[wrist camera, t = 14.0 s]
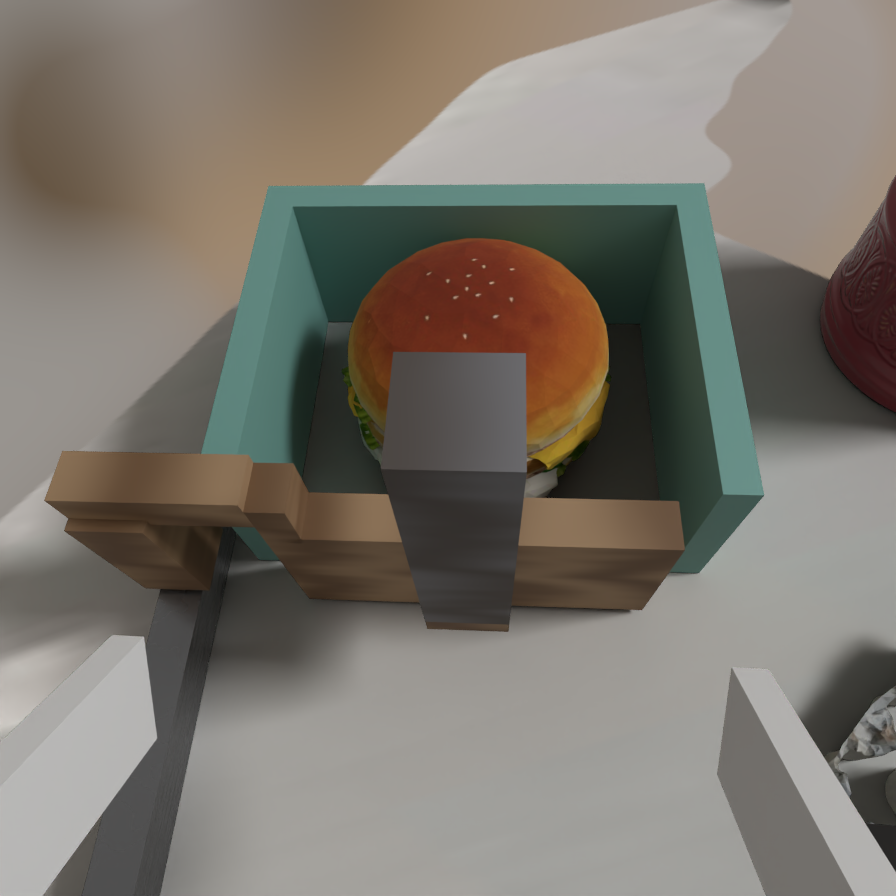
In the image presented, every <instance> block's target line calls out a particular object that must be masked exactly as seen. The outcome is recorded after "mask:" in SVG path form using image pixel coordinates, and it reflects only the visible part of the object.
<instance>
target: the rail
mask: <svg viewBox="0 0 896 896" xmlns="http://www.w3.org/2000/svg"><path fill="white" fill-rule="evenodd" d="M221 528H222V529H223V532H222V536H221V541H220V545H219V550H218V554H217V559H216V563H215V568H214V572H213V577H212V581H211V586H210V591H208V590H179V589H161V590H160V594H159V598H158V601H157V605H156V609H155V613H154V617H153V621H152V625H151V629H150V633H149V636H148V640H147V644H146V648H145V649H146V656H147V664H148V672H149V679H150V687H151V694H152V702H153V710H154V717H155V725H156V733H157V739H156V741H155V742H154V743H153V745H152V746H151V747H150V749H149V750H148V752H147V753H146V754H145V756H144V757H143V758H142V760H141V761H140V762H139V764H138V765H137V767H136V768H135V769H134V771H133V772H132V773H131V775H130V776H129V778H128V779H127V780H126V782H125V783H124V784H123V786H122V787H121V789H120V790H119V791H118V793H117V794H116V795H115V797H114V798H113V800H112V801H111V802H110V804H109V805H108V806H107V808H106V809H105V811H104V812H103V815H102V819H101V823H100V827H99V831H98V835H97V839H96V843H95V847H94V850H93V854H92V858H91V862H90V866H89V870H88V874H87V878H86V882H85V885H84V889H83V893H82V896H160V891H161V886H162V882H163V877H164V872H165V867H166V863H167V858H168V853H169V849H170V844H171V839H172V834H173V830H174V825H175V820H176V815H177V811H178V806H179V801H180V796H181V792H182V787H183V782H184V777H185V773H186V768H187V763H188V759H189V754H190V749H191V744H192V740H193V735H194V730H195V725H196V721H197V716H198V711H199V706H200V702H201V697H202V692H203V687H204V683H205V678H206V673H207V668H208V664H209V659H210V654H211V650H212V645H213V640H214V635H215V631H216V626H217V621H218V616H219V612H220V607H221V602H222V597H223V593H224V588H225V583H226V578H227V574H228V569H229V564H230V560H231V555H232V550H233V545H234V541H235V536H236V532H235V530H234V529H233V528H232V527H221Z"/></svg>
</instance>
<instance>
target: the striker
mask: <svg viewBox="0 0 896 896" xmlns="http://www.w3.org/2000/svg"><path fill="white" fill-rule="evenodd" d="M381 472H382V475H383V479H384V482H385V486H386V489H387V492H388V494H355V493H312V492H308V490H307V488H306V486H305V484H304V482H303V481H302V479H301V477H300V475H299V473H298V471H297V469H296V467H295V465H294V464H293V463H253V461H252V459H251V458H250V456H249V455H234V454H184V453H134V452H85V451H62V454H61V456H60V459H59V462H58V465H57V467H56V470H55V473H54V475H53V478H52V481H51V484H50V486H49V489H48V492H47V495H46V497H45V500H44V501H45V502H47V503H48V504H50V505H51V506H52V507H54V508H55V509H56V510H58V511H59V512H60V513H62V514H63V515H64V516H66V517H67V518H68V521H67V524H66V527H65V530H64V531H65V532H66V533H68V534H69V535H71V536H72V537H74V538H75V539H76V540H78V541H79V542H81V543H82V544H83V545H85V546H86V547H88V548H89V549H91V550H92V551H93V552H95V553H96V554H98V555H99V556H101V557H102V558H103V559H105V560H106V561H108V562H109V563H111V564H112V565H113V566H115V567H116V568H118V569H119V570H120V571H122V572H123V573H125V574H126V575H128V576H129V577H130V578H132V579H133V580H135V581H136V582H138V583H139V584H140V585H142V586H143V587H145V588H149V589H179V590H208V591H210V586H211V581H212V577H213V572H214V568H215V563H216V559H217V554H218V550H219V545H220V541H221V536H222V532H223V529H222V528H221V527H255V529H256V530H257V531H258V532H259V534H260V535H261V536H262V538H263V539H264V540H265V542H266V543H267V544H268V545H269V547H270V548H271V549H272V551H273V552H274V553H275V555H276V556H277V557H278V558H279V560H280V561H281V562H282V564H283V565H284V566H285V568H286V569H287V570H288V571H289V573H290V574H291V575H292V577H293V578H294V579H295V581H296V582H297V583H298V584H299V586H300V587H301V588H302V590H303V591H304V592H305V593H306V595H307V596H308V597H309V599H334V600H364V601H393V602H420V605H421V609H422V612H423V615H424V619H425V622H426V626H427V629H449V630H476V631H504V632H508V630H509V621H510V612H511V606H540V607H570V608H599V609H629V610H642V609H643V608H644V607H645V605H646V604H647V602H648V601H649V600H650V598H651V597H652V595H653V594H654V593H655V591H656V590H657V588H658V587H659V586H660V584H661V583H662V582H663V580H664V579H665V577H666V576H667V575H668V573H669V572H670V570H671V569H672V568H673V566H674V565H675V563H676V562H677V561H678V559H679V558H680V557H681V555H682V554H683V552H684V551H685V546H684V538H683V530H682V522H681V514H680V506H679V501H651V500H608V499H566V498H524V492H525V484H526V475H527V431H526V353H459V352H393V359H392V369H391V378H390V387H389V397H388V406H387V415H386V425H385V434H384V443H383V452H382V462H381Z"/></svg>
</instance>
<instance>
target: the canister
mask: <svg viewBox="0 0 896 896" xmlns="http://www.w3.org/2000/svg"><path fill="white" fill-rule="evenodd" d="M820 326H821V332H822V336H823V340H824V343H825V345H826V348H827V350H828V352H829V354H830V356H831V357H832V359H833V360H834V362H835V363H836V365H837V366H838V368H839V369H840V370H841V371H842V373H843V374H844V375H845V376H846V377H847V378H848V379H849V380H850V381H851V382H852V383H853V384H854V385H855V386H856V387H857V388H858V389H860V390H861V391H862V392H863V393H865V394H866V395H867V396H869V397H870V398H872V399H873V400H874V401H876V402H878V403H879V404H881V405H883V406H884V407H886V408H888V409H890V410H892V411H894V412H896V176H895V177H894V179H893V180H892V182H891V184H890V186H889V189H888V192H887V195H886V198H885V199H884V201H883V203H882V204H881V205H880V207H879V209H878V210H877V212H876V213H875V215H874V216H873V218H872V220H871V221H870V223H869V224H868V226H867V228H866V229H865V231H864V232H863V234H862V235H861V237H860V239H859V240H858V242H857V243H856V245H855V246H854V248H853V249H852V250H851V251H850V252H849V253H848V254H847V255H846V256H845V257H844V258H843V259H842V261H841V262H840V264H839V265H838V267H837V269H836V271H835V272H834V274H833V275H832V277H831V279H830V281H829V283H828V286H827V289H826V294H825V298H824V300H823V303H822V307H821V313H820Z"/></svg>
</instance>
